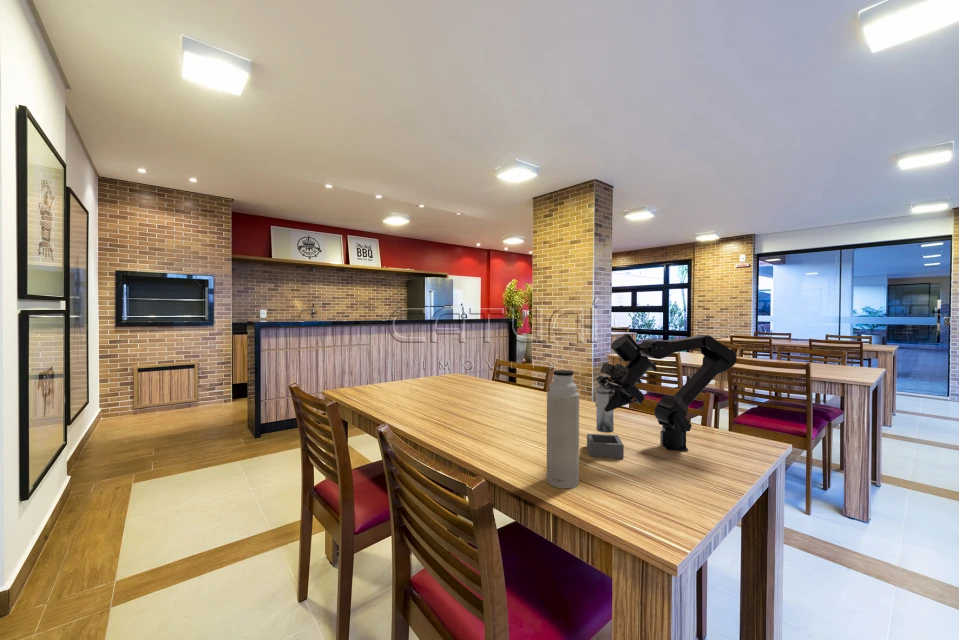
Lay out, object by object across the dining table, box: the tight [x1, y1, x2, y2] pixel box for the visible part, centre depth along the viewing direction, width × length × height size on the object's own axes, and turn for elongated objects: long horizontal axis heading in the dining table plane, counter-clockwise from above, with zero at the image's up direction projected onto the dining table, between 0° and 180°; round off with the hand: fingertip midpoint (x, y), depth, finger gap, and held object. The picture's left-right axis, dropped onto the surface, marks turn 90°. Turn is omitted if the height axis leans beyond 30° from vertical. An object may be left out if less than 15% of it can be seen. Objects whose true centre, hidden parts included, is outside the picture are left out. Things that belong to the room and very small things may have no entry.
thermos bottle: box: [546, 369, 580, 489], centre depth 96 cm, size 8×8×28 cm
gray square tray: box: [586, 433, 625, 460], centre depth 117 cm, size 9×9×4 cm
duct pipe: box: [595, 385, 615, 434], centre depth 116 cm, size 6×6×13 cm
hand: (600, 408), depth 116 cm, fingers closed on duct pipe, 5 cm apart
